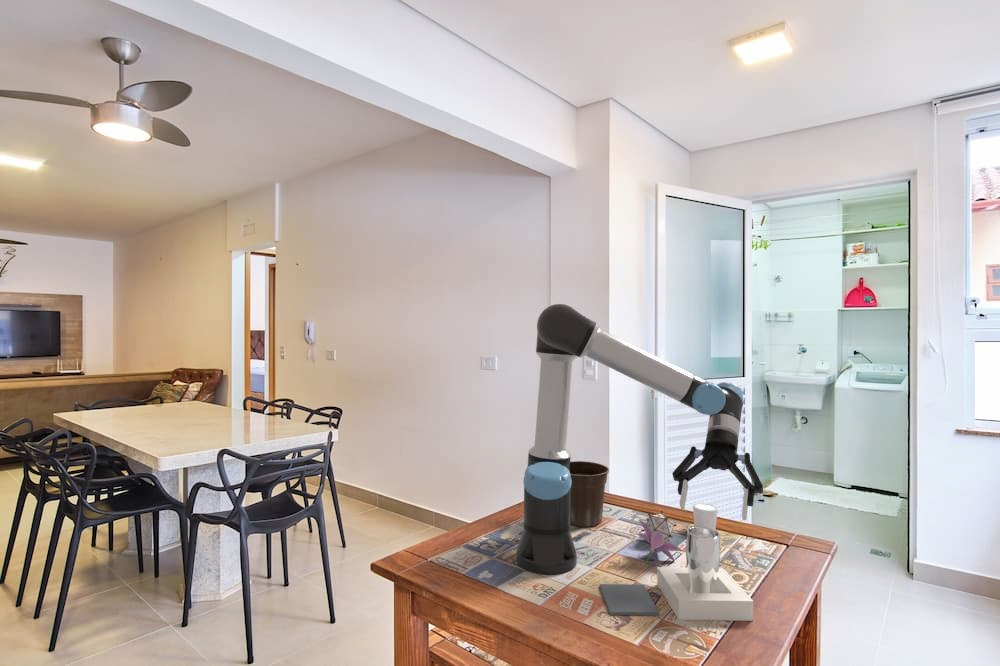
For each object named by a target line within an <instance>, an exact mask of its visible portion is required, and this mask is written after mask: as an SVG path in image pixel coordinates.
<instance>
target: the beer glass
mask: <svg viewBox="0 0 1000 666" xmlns="http://www.w3.org/2000/svg"><path fill="white" fill-rule="evenodd" d="M685 557H686V558H685V559H686V566H687V567H688V573H689V582H690V585H689V591H688V593H716V580H717V575H718V570H719V568H720V563H721V535H720V532H718V531H717V530H716V529H715V530H713V529H710V528H706V527H694V526H692V527H689V528H687V532H686V541H685Z"/></svg>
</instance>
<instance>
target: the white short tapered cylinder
mask: <svg viewBox="0 0 1000 666" xmlns="http://www.w3.org/2000/svg"><path fill="white" fill-rule="evenodd" d="M718 510H719V509H718V506H715V505H714V504H709V503H694V504H692V512H693V514H692V515H693V527H706V528H710V529H713V530H715V531H716V528H717V518H718Z"/></svg>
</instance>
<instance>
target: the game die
mask: <svg viewBox="0 0 1000 666" xmlns="http://www.w3.org/2000/svg"><path fill="white" fill-rule="evenodd" d="M663 513H664V512H663V510H660V513H656V514H653V515H652V514H651V513H649V512H648V518H646V524H647V525H648V526H649V527H650V528H651V529H652V530H653V531H654V532H656V531H660V532H661V533H662V535H663V537H664V540H668V541H670V538H671V539H672V538H673V535H672V533H673V529H674V527H677V524H676V523H675V524H674V523H672V521H671V520H669V517H668V516H666V515H664V514H663ZM640 532H644V533H645V530H644V529H641V530H640Z"/></svg>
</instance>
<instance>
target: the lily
mask: <svg viewBox="0 0 1000 666" xmlns="http://www.w3.org/2000/svg"><path fill="white" fill-rule="evenodd" d="M638 521H639V523H640V524H641V527H642V528H643V530H645V531H644V533H640V532H639V533H636V535H637V536H638V537H640V538H642V539H644V540H645V541H647V542H648V543H649V546H650V550H649V553H648V556H647V559H646V562H645V565H646V564H647V565H648V562H649V559H650V556H651V553H652V552H654V553H656V552H657V553H661V552H662V553H663V554H664V555H665V556H666V557H668V558H669V559H670V560H671V561H672V562H674V561H675V562H676V560H675V558H674V556H673V555H672V553H671V552H674V551H675V552H683V550H682V549H681V547H679V546H678V545H676V544H675V543H673V542H672V541H670V540H669V541H668V540H664V537H663V535H662V533H661V532H660V531H656V532H654V531H653V530H652V529H651V528H650V527H649V526H648V525H647V522H645V521H643V520H641V519H638Z"/></svg>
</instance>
